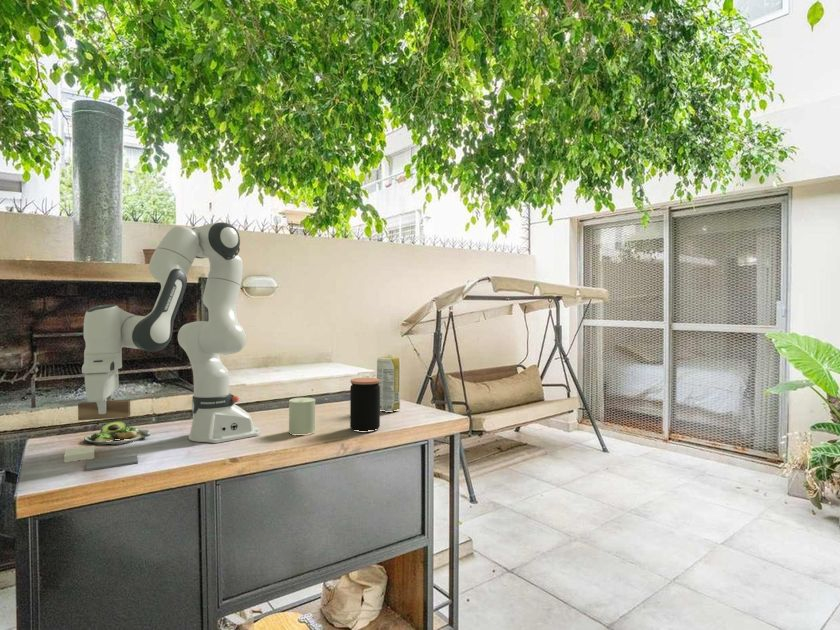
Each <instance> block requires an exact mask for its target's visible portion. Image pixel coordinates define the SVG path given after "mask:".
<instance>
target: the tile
mask: <svg viewBox="0 0 840 630" xmlns="http://www.w3.org/2000/svg"><path fill="white" fill-rule="evenodd" d="M63 456H64V459H63V461H64V462H65V463H71V462H70V461H73V462H79V461H78V460H80V461H86V459H87V460H93V459H92V458H94V459H95V445H88V446H79V447H71V448H65V452H64V455H63ZM64 462H63V463H64Z"/></svg>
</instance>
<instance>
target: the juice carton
mask: <svg viewBox="0 0 840 630" xmlns="http://www.w3.org/2000/svg"><path fill="white" fill-rule="evenodd" d="M394 356H395V354H389V353H388V355H386V356H379V357H377V358H376V378H377V379H380V382H379V386H380V410H385V411H394V410H397V409H401V357H394Z"/></svg>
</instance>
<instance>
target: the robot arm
mask: <svg viewBox="0 0 840 630" xmlns="http://www.w3.org/2000/svg"><path fill="white" fill-rule="evenodd" d="M240 245H241V237H240V234H239V231H238V229H237V228H236V227H235V226H234V225H233V224H231V223H228V222H216V223H214V222H213V223H206V224H203V225H200V226H198V227H192V228H190V227H188V226H184V225H176V226H173V227H171V229H170V230H169V231H167V233H166V234H165V235H164V237H163V238H162V239H161V241H160V242H159V244H158V245H157V247H156V248H155V250H154V252H153V254H152V256H151V258H150V260H149V265H148V270H149V273H150V275H151V276H152V278H153V279H154V280H156V281H157V282H158V283H160V290H159V294H158V296H157V299H156V300H155V302H154V305H153V307H152V310H151V312H150V313H148V314H146V315H135V314H134V313H130V312H128V311H126V310H124V309H122V308H120V307H119V306H118V305H117V304H113V303H112V304H100V305H96V306H92V307H90V308H88V309H87V310H86V311H85V314H84V319H83V340H84V342H85V348H84V350H83V351H84V352H83V358H84V359H83V364H82V367H81V374H82V375H83V374H84V387H85V396H86V399H87V402H96V403H97V406H98V413H99V414H105V413H106V412H107V406H106V401H111V400H112V398H113V393H115V392H116V391H117V390H118V389H119V387H120V381H119V380H120V379H119V377H120V376H119V370H120V369H122V368H123V357H122V356H123V353H122V352H123V351H122V350H123V349H122V348H128V349H137V350H143V351H147V352H150V353H151V352H152V353H153V352H154V353H156V352H158V351H162V350H163V349H165V348H166V347H167V346H168V345H169V343H170V342H171V340H172V337H173V333H174V332H173V330H174V323H175V319H176V315H177V314H178V311H179V308H180V305H181V303H182V301H183V297H184V294H185V292H186V289H187V284H188V274H189V271H190V269H191V266H193V263H194V261H195V259H205V258H206V259H208V261H209V270H208V274H207V275H208V276H207V279H206V281H205V285H204V291H203V296H202V303H203V305H204V306H205V307H206V308H207V309H208V320H207V321H205V320H203V321H202V320H196V321H193V322H189V323H185V324H183V325H182V326H181V327H180V328H179V330H178V332H177V342H178V344H179V346H180V348H182V349H183V350H184V352H185V353H186V355H187V357H188V359H189V362H190V365H191V366H190V367H191V369H192V373H193V374H192V376H193V377H192V378H193V395H192V400H191V411H192V421H191V428H190V432H189V436H188V440H189V441H191V442H192V441H193V442H199V443H201V442H203V443H211V444H218V443H222V442H223V443H224V442H229V441H234V440H241V439H245V438H251V437H257V436H259V435H260V428H259V427H258V426H255V425H254V422H253V419H252V418H253V417H252V416H251V414H250V413H249V412H247V410H244V409H243V408H242V407H240V406H239V405H237V404H235V403H238V402H239V401H240V399H239V396H237V395H234V394H232V393H230V371H229V369H228V368H227V367H226V366H225V365H224V363H223V362H222V360H221V357H220V355H222V356H223V355H224V356H225V355H233V354H236V353H239V352H240V351H242V350H243V349H244V347H245V345H246V343H247V334H246V331H245V329H244V328H243V326H242V325H241V324H240V321H239V318H238V302H239V296H240V291H241V286H242V282H243V281H242V280H243V271H244V261H243V260H242V258H241V256H239V255H238V254H239V253H240Z"/></svg>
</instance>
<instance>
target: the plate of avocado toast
mask: <svg viewBox="0 0 840 630" xmlns="http://www.w3.org/2000/svg"><path fill="white" fill-rule="evenodd" d="M147 437H151V434H150V430H149V429H140V428H136V427H134V426H130V425H129V426H127V424H126V423H125V422H123V421H120V420H118V421H117V420H115V421H112V422H109V423H106V424H104V425H102V426H101V428H100V432H94V433H93V434H89V435H86V436H84V437H83V438H84V439H83V441H84V443H86V444H88V443H89V444H88V445H95V444H120V445H124V444H123V443H126V444H130V443H129V442H131V443H134V442H137V441H140V440H142V438H143V439H144V438H147ZM115 439H120V440H122V441H111V442H106V441H110V440H115ZM124 439H129V440H124ZM139 439H140V440H139ZM136 440H137V441H136ZM133 441H134V442H133Z"/></svg>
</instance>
